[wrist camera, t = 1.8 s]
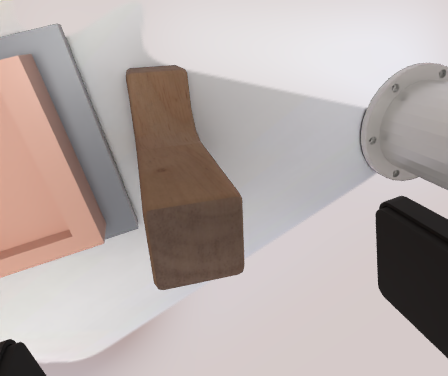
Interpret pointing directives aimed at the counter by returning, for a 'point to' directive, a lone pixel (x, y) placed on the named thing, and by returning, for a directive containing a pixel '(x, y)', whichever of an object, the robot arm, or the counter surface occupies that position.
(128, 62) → the counter surface
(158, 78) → the wooden block
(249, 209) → the counter surface
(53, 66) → the baseplate
